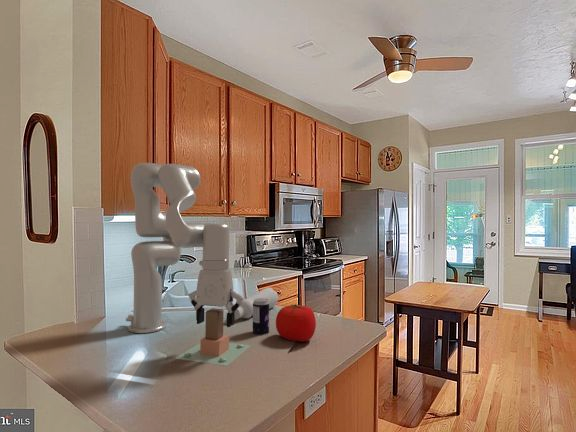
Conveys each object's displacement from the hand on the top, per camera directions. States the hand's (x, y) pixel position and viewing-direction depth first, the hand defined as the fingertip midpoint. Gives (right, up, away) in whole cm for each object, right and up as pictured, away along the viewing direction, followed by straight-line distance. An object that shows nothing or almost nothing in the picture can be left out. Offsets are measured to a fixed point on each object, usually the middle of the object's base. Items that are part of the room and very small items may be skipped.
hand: (215, 324), depth 100 cm
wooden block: (0, -4, 0) cm, 4 cm away
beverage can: (+12, -10, +18) cm, 24 cm away
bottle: (+7, -10, +46) cm, 47 cm away
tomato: (+24, -10, +13) cm, 29 cm away
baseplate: (0, -9, 0) cm, 9 cm away
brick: (0, -8, 0) cm, 8 cm away
